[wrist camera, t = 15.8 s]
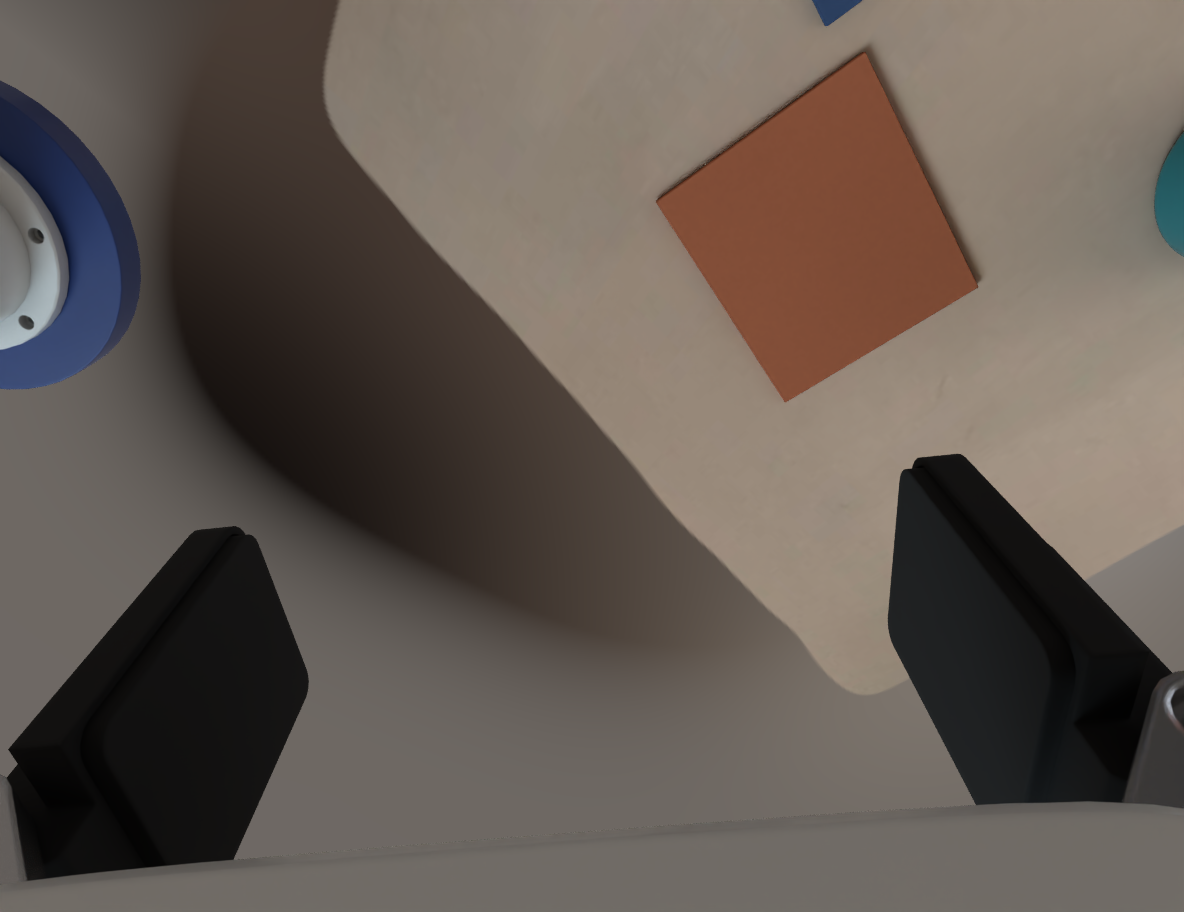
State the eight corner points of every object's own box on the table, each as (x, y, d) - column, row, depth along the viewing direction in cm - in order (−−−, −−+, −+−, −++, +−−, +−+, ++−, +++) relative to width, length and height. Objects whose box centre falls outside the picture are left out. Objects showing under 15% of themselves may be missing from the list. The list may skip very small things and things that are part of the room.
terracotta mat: (655, 200, 40) (655, 202, 40) (862, 51, 37) (865, 51, 36) (783, 400, 45) (785, 402, 45) (975, 285, 42) (978, 287, 41)
